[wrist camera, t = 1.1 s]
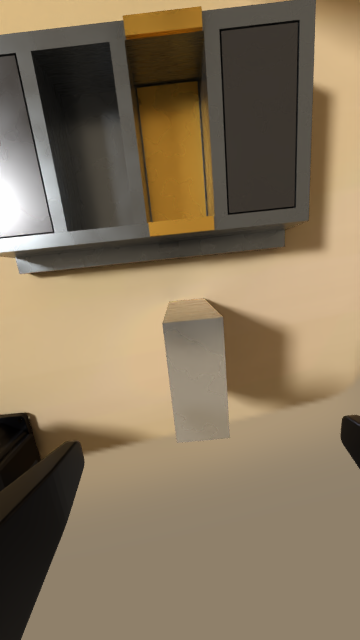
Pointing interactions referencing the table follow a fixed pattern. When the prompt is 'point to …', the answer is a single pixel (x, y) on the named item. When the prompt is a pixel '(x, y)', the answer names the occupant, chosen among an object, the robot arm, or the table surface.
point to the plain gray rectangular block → (196, 370)
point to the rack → (156, 136)
